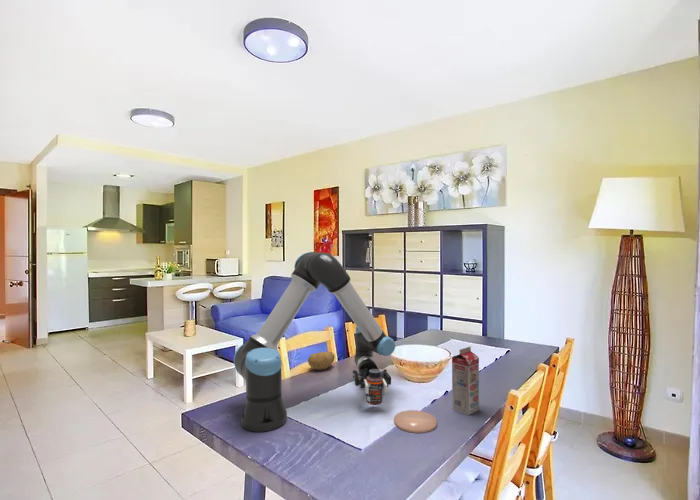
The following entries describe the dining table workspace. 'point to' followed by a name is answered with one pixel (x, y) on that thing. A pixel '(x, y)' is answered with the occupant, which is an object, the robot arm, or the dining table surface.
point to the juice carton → (465, 382)
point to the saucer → (415, 421)
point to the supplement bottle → (374, 387)
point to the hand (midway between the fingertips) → (376, 389)
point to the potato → (321, 360)
